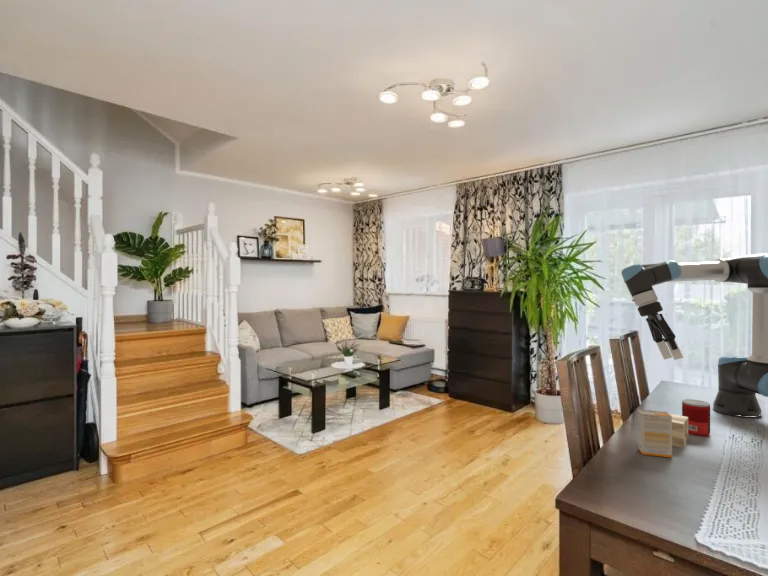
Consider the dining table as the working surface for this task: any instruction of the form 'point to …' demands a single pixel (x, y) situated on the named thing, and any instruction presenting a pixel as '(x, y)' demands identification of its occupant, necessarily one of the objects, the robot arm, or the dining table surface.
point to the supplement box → (655, 433)
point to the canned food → (697, 416)
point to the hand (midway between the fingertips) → (673, 358)
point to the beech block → (679, 430)
